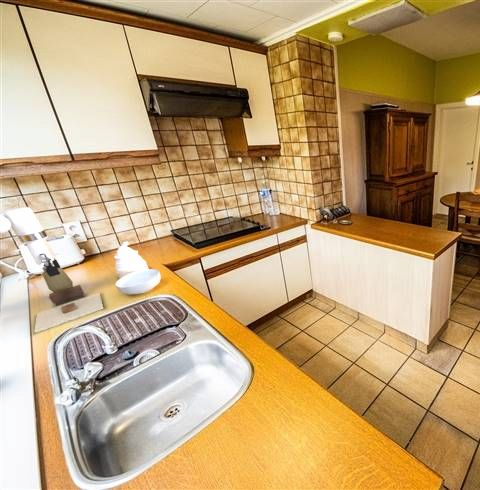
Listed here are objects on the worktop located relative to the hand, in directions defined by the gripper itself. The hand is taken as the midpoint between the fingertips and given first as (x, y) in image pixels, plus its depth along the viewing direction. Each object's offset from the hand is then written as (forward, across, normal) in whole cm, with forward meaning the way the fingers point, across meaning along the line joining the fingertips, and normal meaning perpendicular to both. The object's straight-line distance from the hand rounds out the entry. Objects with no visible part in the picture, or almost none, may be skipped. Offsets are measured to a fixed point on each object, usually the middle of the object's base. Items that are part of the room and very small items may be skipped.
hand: (55, 271), depth 118 cm
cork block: (+14, +13, -1) cm, 20 cm away
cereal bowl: (+16, +17, +24) cm, 34 cm away
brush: (+15, 0, -1) cm, 15 cm away
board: (+15, +13, -1) cm, 20 cm away
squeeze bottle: (+15, -14, -3) cm, 21 cm away
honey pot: (+16, -9, +24) cm, 30 cm away
